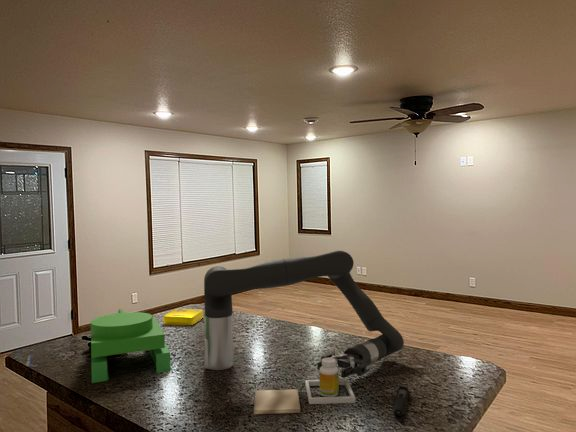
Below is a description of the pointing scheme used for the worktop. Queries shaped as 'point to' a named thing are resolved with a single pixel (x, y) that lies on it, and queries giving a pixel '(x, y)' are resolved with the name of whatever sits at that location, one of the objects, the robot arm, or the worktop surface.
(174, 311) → the element tile
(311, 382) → the square frame
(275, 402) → the pad
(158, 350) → the tank
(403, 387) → the electric trimmer
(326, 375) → the supplement bottle
